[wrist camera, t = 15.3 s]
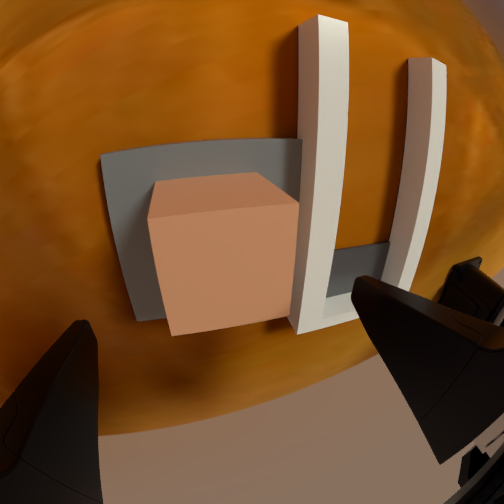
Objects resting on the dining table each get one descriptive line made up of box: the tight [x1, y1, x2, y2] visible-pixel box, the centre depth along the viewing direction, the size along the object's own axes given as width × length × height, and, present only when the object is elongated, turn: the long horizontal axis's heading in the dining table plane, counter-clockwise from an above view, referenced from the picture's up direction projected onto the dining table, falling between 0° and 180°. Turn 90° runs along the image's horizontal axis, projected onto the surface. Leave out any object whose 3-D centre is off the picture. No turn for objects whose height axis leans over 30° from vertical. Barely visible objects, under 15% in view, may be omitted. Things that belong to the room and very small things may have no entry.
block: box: [147, 172, 299, 336], centre depth 11 cm, size 4×4×4 cm
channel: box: [287, 15, 446, 335], centre depth 14 cm, size 9×17×2 cm, turn 0°
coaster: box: [100, 138, 303, 322], centre depth 13 cm, size 9×9×1 cm
